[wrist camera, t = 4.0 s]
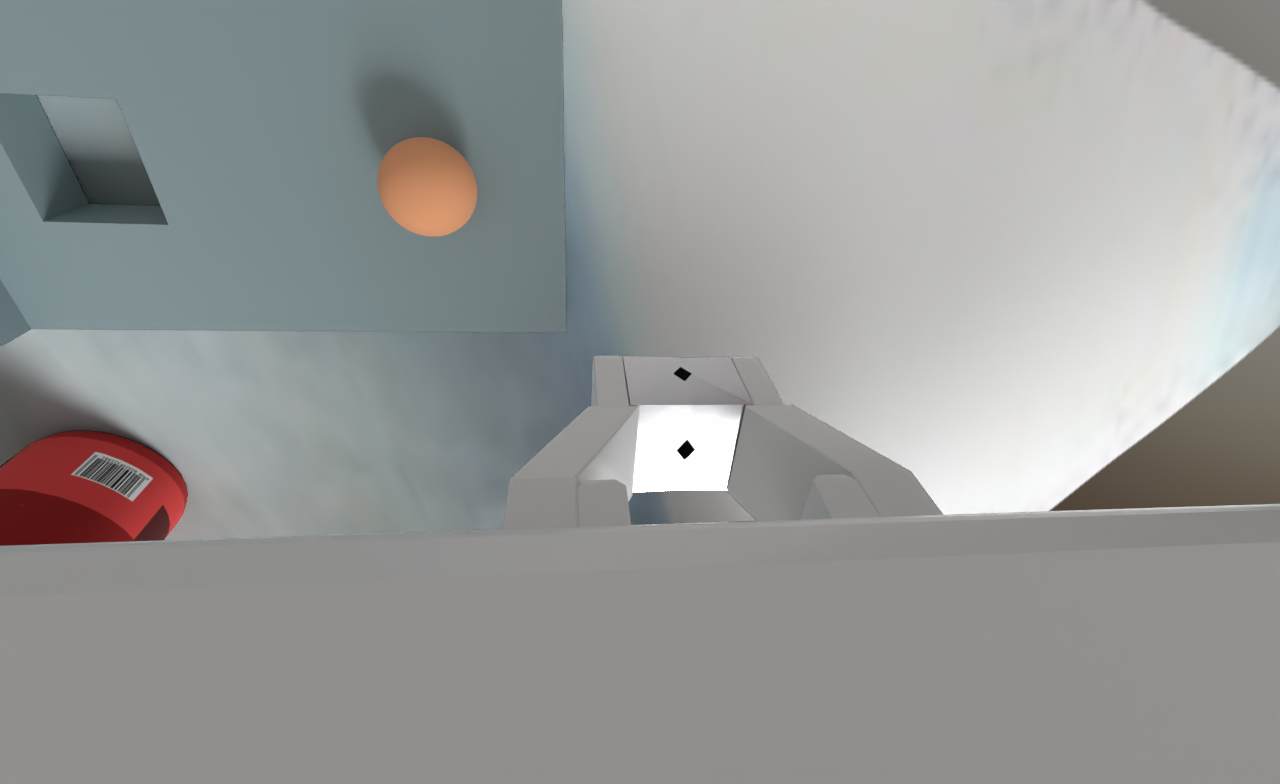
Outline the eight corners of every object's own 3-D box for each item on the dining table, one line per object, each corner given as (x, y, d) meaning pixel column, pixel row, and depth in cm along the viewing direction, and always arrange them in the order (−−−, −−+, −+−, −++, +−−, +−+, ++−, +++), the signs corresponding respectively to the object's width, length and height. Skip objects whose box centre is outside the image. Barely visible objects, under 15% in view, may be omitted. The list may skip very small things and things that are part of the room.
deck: (561, -27, 21) (559, -35, 18) (566, 310, 29) (565, 348, 25) (-179, -88, 18) (-344, -111, 15) (50, 304, 26) (-26, 346, 23)
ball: (478, 131, 21) (463, 149, 19) (486, 221, 23) (474, 250, 20) (383, 127, 21) (353, 144, 18) (400, 219, 23) (375, 248, 20)
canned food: (-1, 422, 29) (-260, 605, 20) (170, 429, 30) (-2, 604, 21) (62, 523, 33) (-129, 713, 24) (209, 526, 35) (81, 707, 25)
